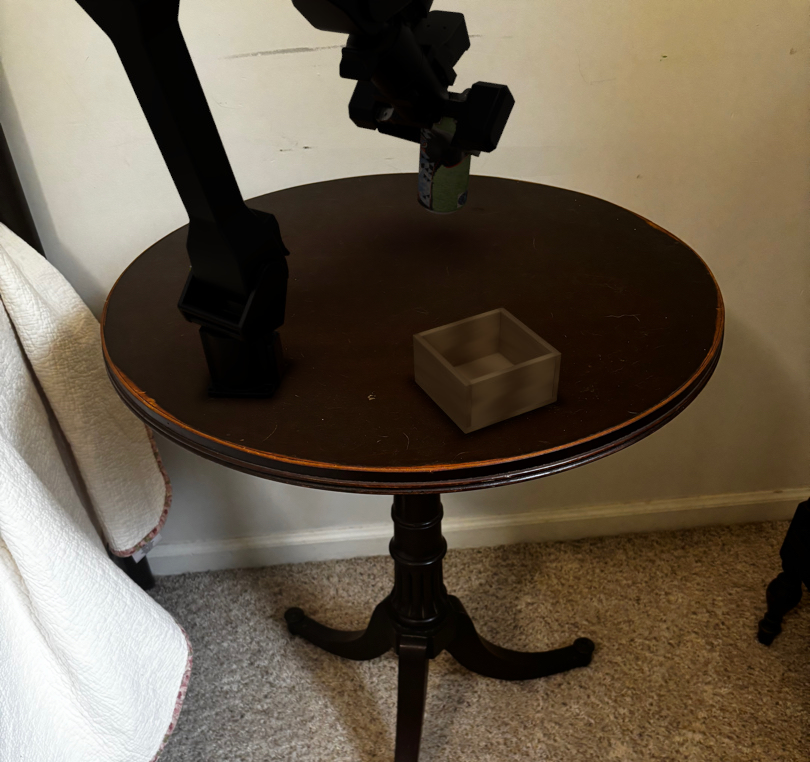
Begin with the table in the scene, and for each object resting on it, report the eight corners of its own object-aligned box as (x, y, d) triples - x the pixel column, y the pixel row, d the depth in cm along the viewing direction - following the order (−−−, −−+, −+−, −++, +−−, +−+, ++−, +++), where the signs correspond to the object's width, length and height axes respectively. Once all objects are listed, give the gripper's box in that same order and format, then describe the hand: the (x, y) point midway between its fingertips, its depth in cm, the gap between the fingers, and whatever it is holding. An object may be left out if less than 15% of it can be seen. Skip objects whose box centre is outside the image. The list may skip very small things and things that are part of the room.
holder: (465, 434, 71) (465, 386, 68) (414, 381, 78) (412, 334, 74) (556, 401, 74) (561, 353, 71) (500, 353, 81) (502, 306, 77)
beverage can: (436, 196, 101) (432, 90, 93) (485, 206, 97) (485, 97, 89) (406, 213, 97) (399, 105, 89) (456, 224, 94) (454, 112, 86)
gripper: (510, -8, 74) (556, 92, 88) (354, -22, 83) (419, 71, 97) (463, 107, 75) (516, 188, 89) (314, 82, 84) (383, 160, 98)
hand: (457, 148), depth 93 cm, fingers closed on beverage can, 6 cm apart
